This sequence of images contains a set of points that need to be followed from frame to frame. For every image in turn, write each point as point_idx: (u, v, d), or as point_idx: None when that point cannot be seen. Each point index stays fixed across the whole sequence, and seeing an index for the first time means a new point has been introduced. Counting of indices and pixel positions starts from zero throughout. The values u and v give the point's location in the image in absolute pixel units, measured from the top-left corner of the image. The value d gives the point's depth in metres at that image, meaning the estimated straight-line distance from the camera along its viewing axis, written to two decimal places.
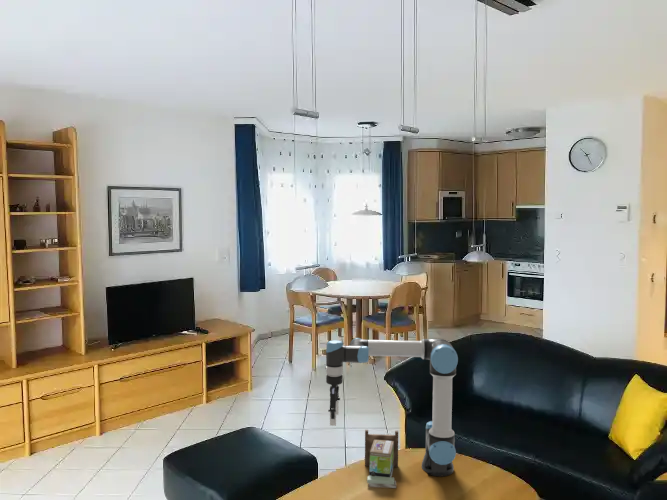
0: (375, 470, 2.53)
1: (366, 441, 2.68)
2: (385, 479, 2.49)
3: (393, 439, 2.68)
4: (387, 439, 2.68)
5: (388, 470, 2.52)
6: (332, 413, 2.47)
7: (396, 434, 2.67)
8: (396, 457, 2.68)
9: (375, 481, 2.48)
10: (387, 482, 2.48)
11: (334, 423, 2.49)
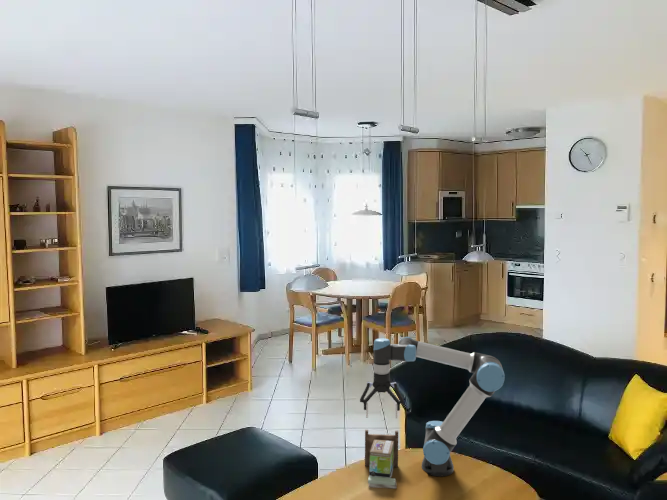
0: (375, 470, 2.53)
1: (366, 441, 2.68)
2: (386, 480, 2.48)
3: (393, 439, 2.68)
4: (387, 439, 2.68)
5: (388, 470, 2.52)
6: None
7: (396, 434, 2.67)
8: (396, 457, 2.68)
9: (376, 482, 2.48)
10: (388, 483, 2.47)
11: (366, 415, 2.58)
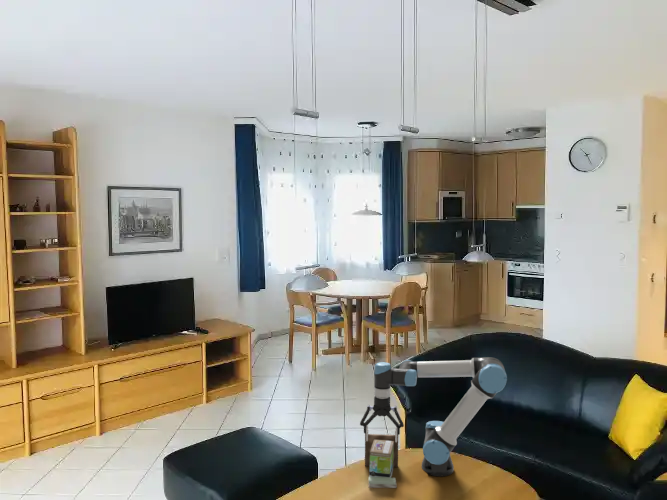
0: (375, 470, 2.53)
1: (366, 441, 2.68)
2: (387, 479, 2.49)
3: (393, 439, 2.68)
4: (387, 439, 2.68)
5: (388, 470, 2.52)
6: None
7: None
8: (396, 457, 2.68)
9: (377, 482, 2.48)
10: (388, 482, 2.47)
11: (366, 438, 2.59)
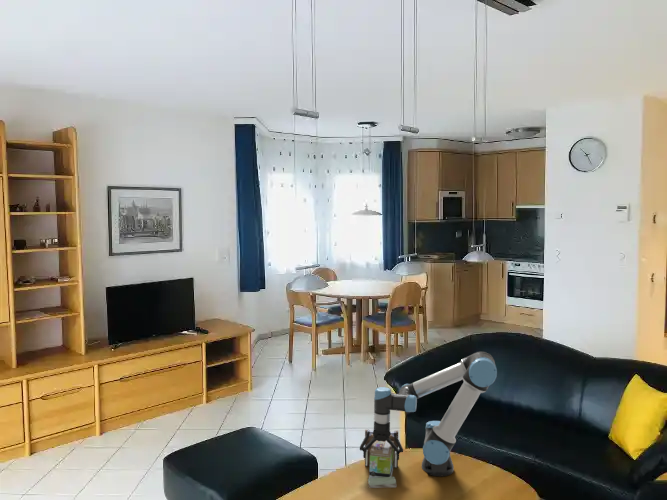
0: (375, 470, 2.53)
1: None
2: (387, 479, 2.49)
3: (393, 439, 2.68)
4: None
5: (388, 470, 2.52)
6: (363, 451, 2.60)
7: None
8: None
9: (378, 483, 2.47)
10: (389, 482, 2.48)
11: None
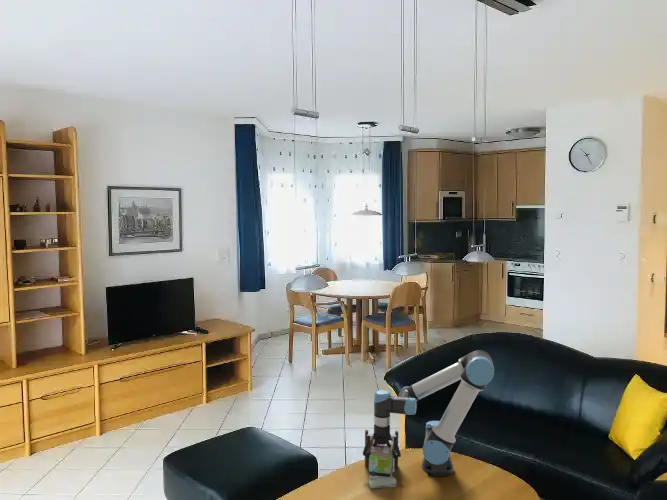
0: (375, 470, 2.53)
1: None
2: (387, 480, 2.49)
3: None
4: None
5: (388, 470, 2.52)
6: None
7: (396, 434, 2.67)
8: None
9: (379, 484, 2.47)
10: (390, 482, 2.48)
11: None
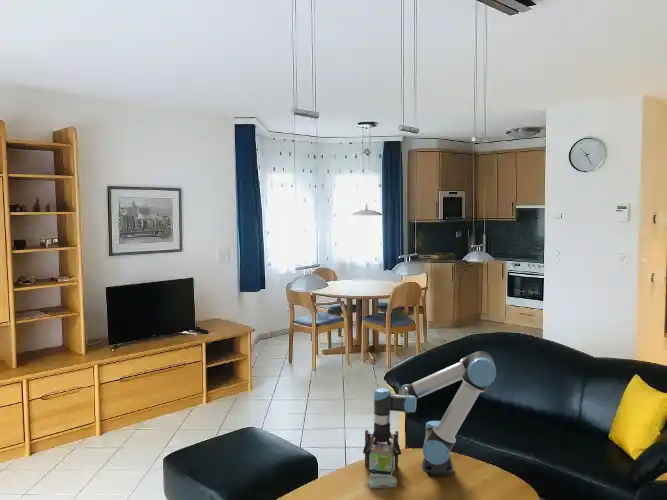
0: (376, 467, 2.53)
1: None
2: (388, 479, 2.49)
3: None
4: None
5: (389, 468, 2.52)
6: None
7: None
8: None
9: (379, 484, 2.46)
10: (390, 482, 2.48)
11: (369, 466, 2.60)
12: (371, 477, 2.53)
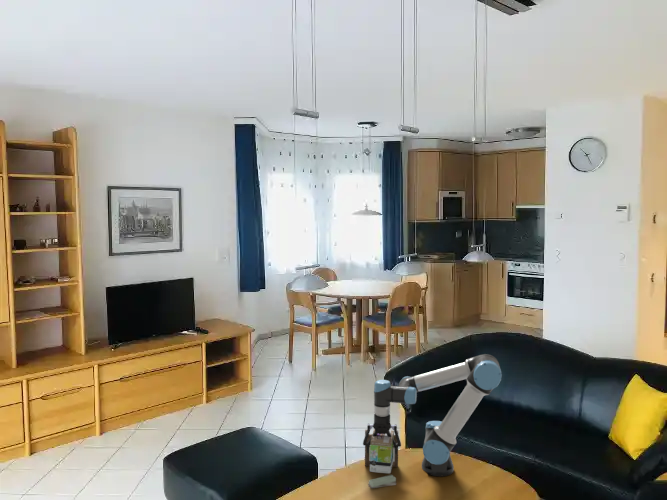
0: (375, 459, 2.53)
1: None
2: (387, 478, 2.50)
3: None
4: None
5: (389, 459, 2.51)
6: None
7: None
8: (396, 457, 2.68)
9: (380, 483, 2.47)
10: (390, 481, 2.49)
11: (369, 458, 2.59)
12: (371, 468, 2.53)
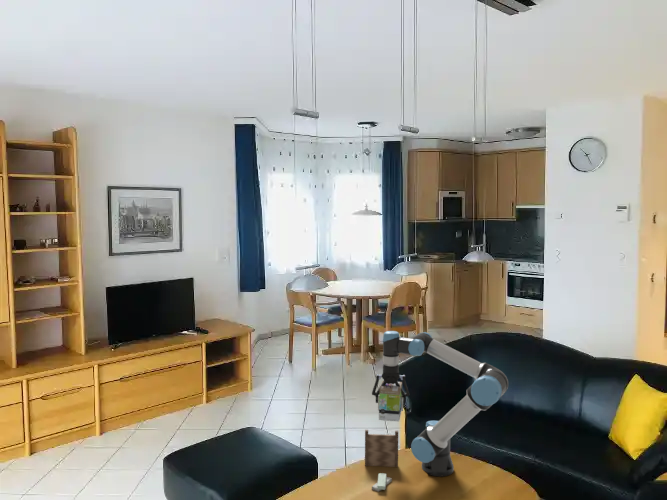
0: (384, 407, 2.57)
1: (366, 441, 2.68)
2: (383, 477, 2.52)
3: (393, 439, 2.68)
4: (387, 439, 2.68)
5: (397, 407, 2.56)
6: None
7: (396, 434, 2.67)
8: (396, 457, 2.68)
9: (385, 484, 2.47)
10: (385, 478, 2.52)
11: (378, 407, 2.64)
12: (380, 417, 2.58)
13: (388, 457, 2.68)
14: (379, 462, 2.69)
